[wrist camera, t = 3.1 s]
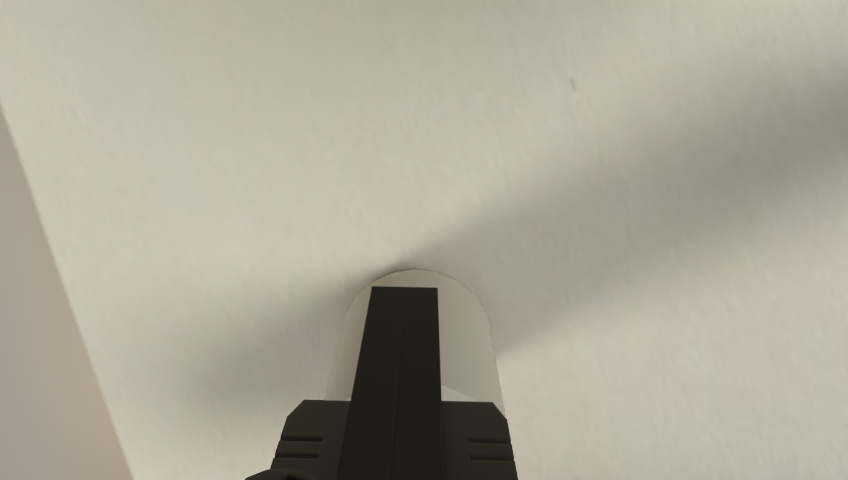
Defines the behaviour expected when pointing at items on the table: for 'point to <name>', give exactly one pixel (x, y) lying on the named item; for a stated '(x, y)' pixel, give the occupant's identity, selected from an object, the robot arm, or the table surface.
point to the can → (458, 333)
